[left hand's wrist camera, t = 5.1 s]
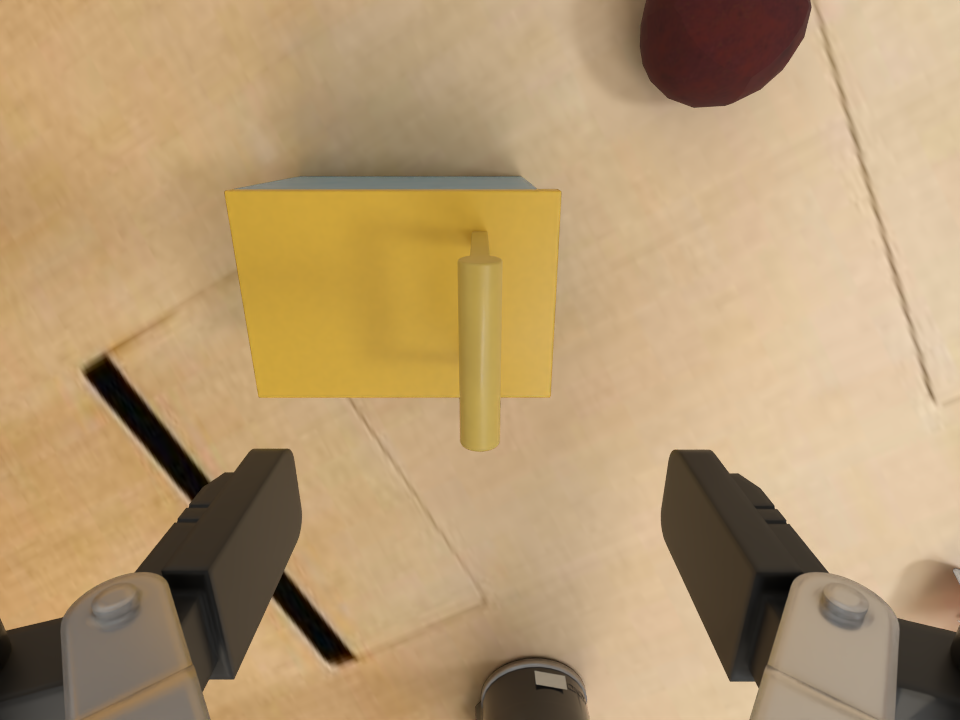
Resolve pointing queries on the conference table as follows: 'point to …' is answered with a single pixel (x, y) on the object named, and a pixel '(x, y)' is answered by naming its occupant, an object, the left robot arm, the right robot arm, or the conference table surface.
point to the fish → (957, 576)
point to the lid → (400, 294)
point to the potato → (719, 46)
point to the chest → (397, 182)
